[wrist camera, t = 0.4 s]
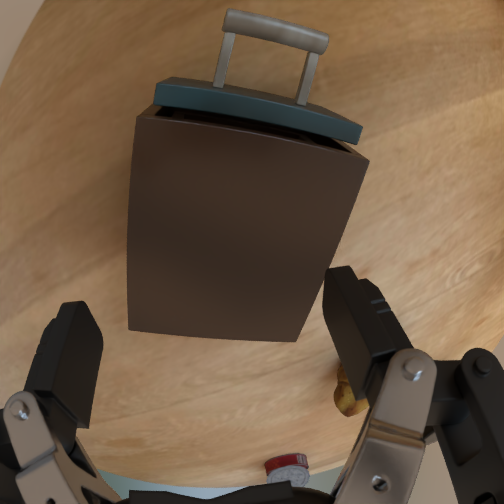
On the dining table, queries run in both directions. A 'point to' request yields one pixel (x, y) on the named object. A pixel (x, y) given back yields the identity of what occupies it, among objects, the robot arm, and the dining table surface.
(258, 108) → the drawer
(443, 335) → the dining table surface
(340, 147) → the cabinet
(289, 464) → the canned food
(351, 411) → the bread roll
